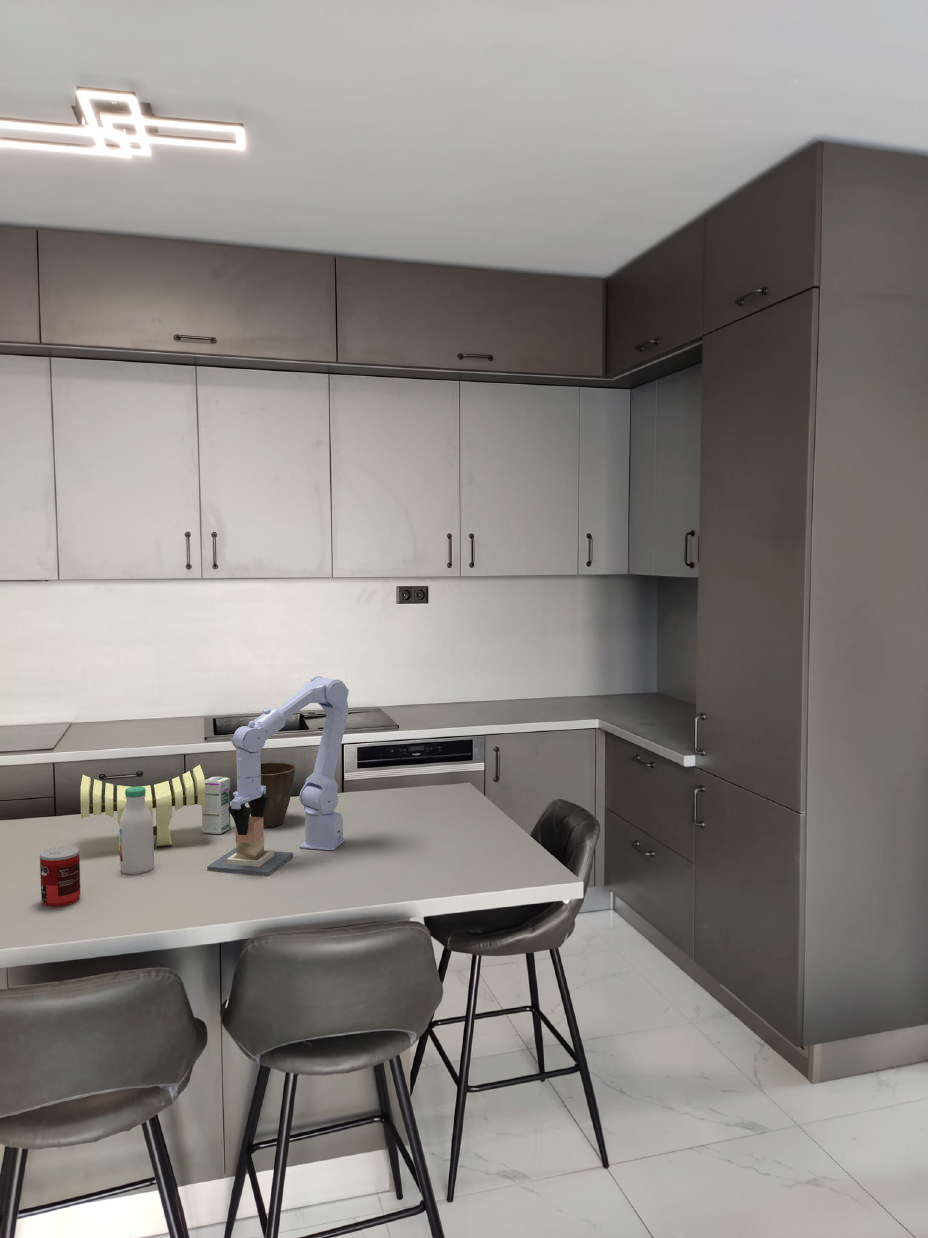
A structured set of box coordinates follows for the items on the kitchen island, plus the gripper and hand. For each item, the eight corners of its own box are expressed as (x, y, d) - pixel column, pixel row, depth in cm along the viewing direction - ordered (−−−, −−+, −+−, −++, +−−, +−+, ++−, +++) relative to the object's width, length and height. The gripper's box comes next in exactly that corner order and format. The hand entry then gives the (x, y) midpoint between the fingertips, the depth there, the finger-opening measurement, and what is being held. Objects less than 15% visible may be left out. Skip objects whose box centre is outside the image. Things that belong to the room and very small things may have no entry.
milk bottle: (161, 866, 214) (159, 785, 213) (139, 876, 207) (137, 793, 206) (135, 862, 217) (133, 783, 216) (113, 872, 210) (110, 791, 208)
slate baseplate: (292, 856, 221) (292, 848, 221) (268, 876, 208) (268, 867, 207) (235, 851, 225) (234, 843, 225) (207, 870, 211) (207, 861, 211)
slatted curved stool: (82, 859, 219) (80, 789, 218) (84, 839, 234) (82, 774, 233) (206, 844, 230) (205, 778, 229) (201, 827, 245) (199, 764, 244)
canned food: (49, 894, 196) (47, 846, 196) (85, 893, 197) (84, 845, 196) (35, 908, 189) (33, 858, 188) (73, 906, 189) (72, 857, 189)
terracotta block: (263, 837, 218) (263, 817, 217) (254, 843, 213) (254, 823, 212) (245, 835, 219) (244, 816, 218) (235, 842, 214) (235, 822, 214)
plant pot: (231, 825, 247) (230, 769, 246) (270, 813, 259) (269, 759, 258) (267, 835, 238) (266, 777, 237) (306, 821, 250) (306, 766, 249)
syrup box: (220, 834, 238) (221, 781, 238) (201, 832, 239) (201, 780, 239) (230, 829, 243) (231, 777, 243) (211, 827, 245) (211, 776, 245)
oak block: (264, 856, 218) (264, 837, 218) (255, 863, 213) (254, 843, 213) (245, 855, 219) (245, 835, 219) (236, 862, 214) (236, 842, 214)
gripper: (247, 767, 223) (248, 820, 224) (219, 782, 208) (220, 837, 209) (273, 769, 221) (274, 822, 222) (246, 783, 207) (247, 840, 208)
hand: (249, 829), depth 216 cm, fingers open, 7 cm apart
